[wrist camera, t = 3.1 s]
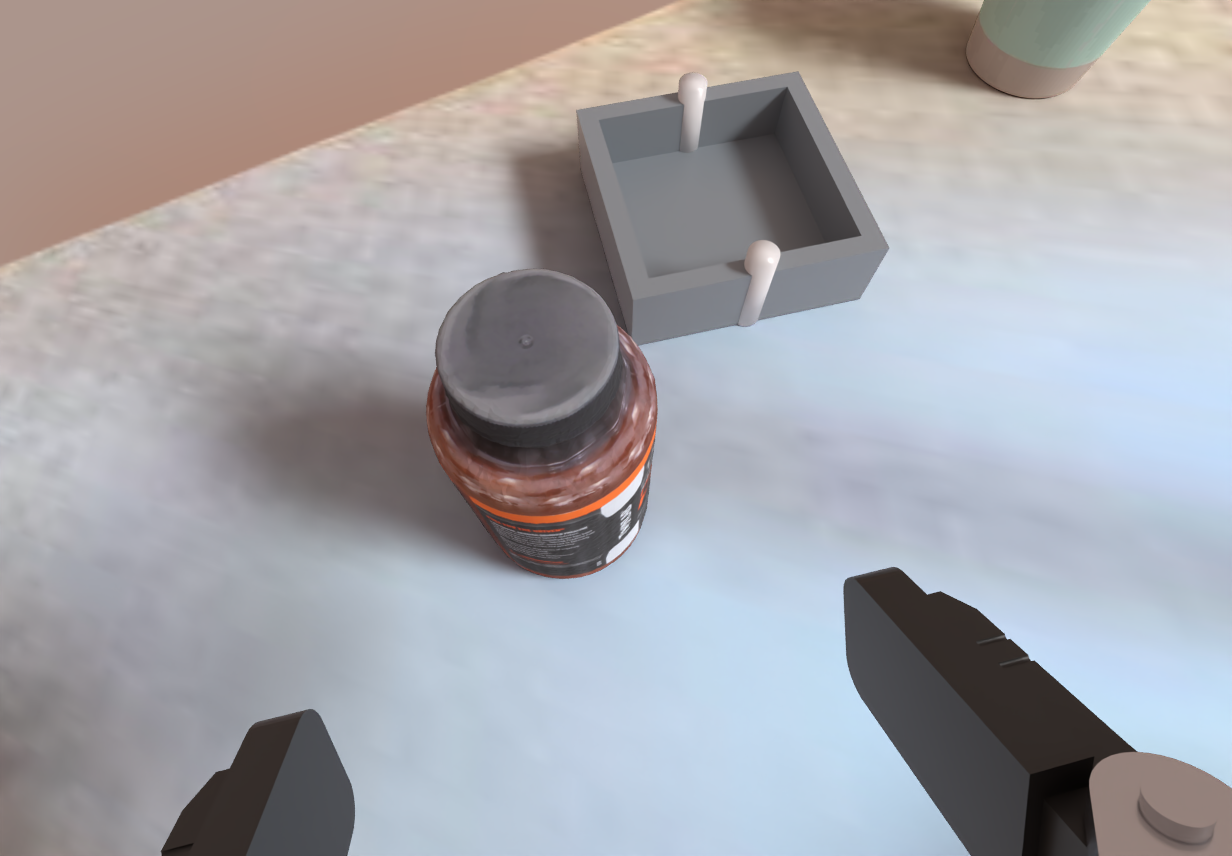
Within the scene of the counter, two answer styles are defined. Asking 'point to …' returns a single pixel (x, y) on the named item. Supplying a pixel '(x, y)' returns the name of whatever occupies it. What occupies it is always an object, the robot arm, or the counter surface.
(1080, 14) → the coffee cup
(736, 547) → the counter surface
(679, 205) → the tray
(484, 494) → the supplement bottle
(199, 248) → the counter surface
